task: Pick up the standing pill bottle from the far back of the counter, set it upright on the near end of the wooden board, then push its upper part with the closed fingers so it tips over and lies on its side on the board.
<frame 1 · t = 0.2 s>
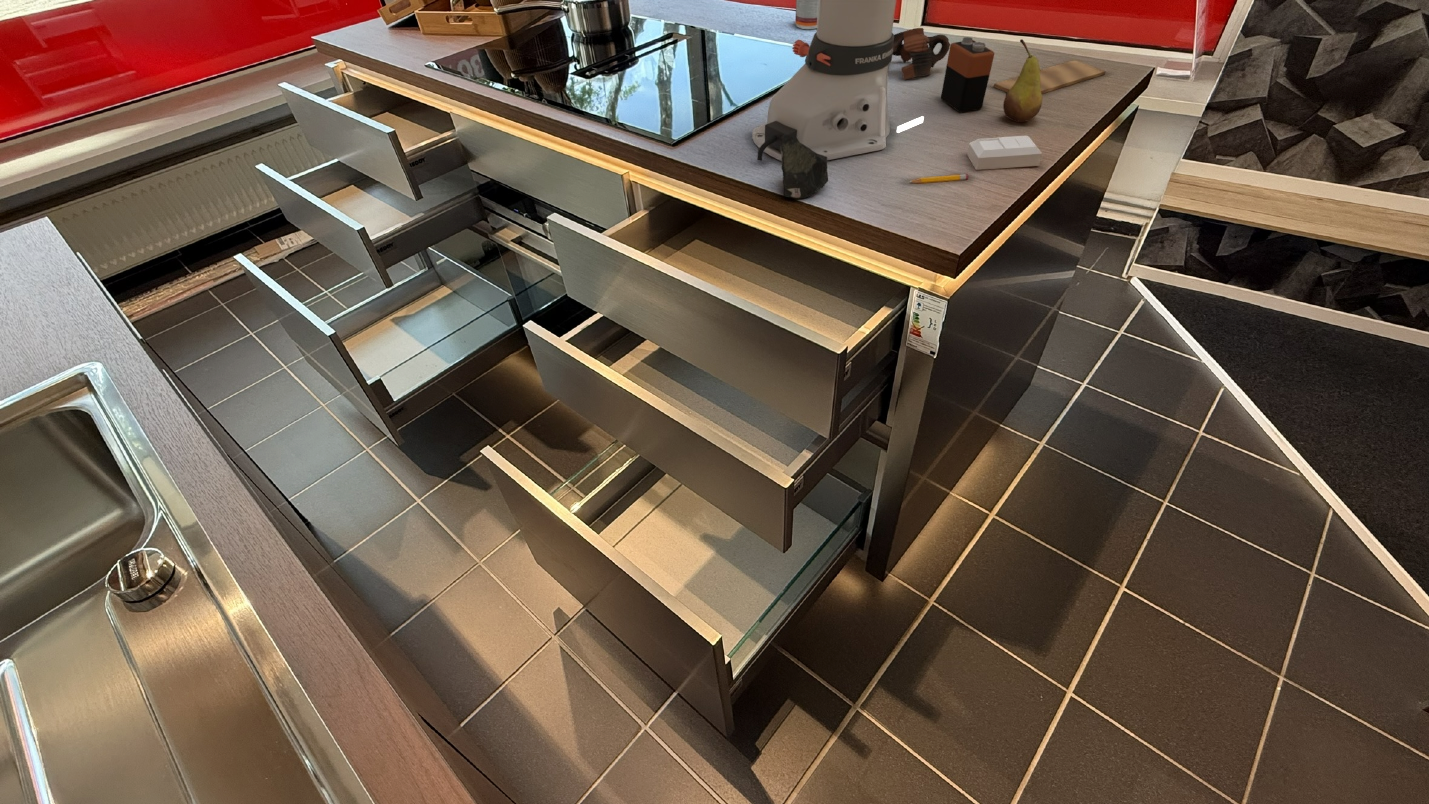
pencil: (938, 182, 97), on the worktop
wooden board: (1049, 80, 122), on the worktop
soap bar: (1001, 161, 101), on the worktop
pottery mug: (912, 71, 128), on the worktop
fruit: (1018, 121, 111), on the worktop
rock: (806, 161, 94), point 4 cm above the worktop
pill bottle: (809, 26, 150), on the worktop
battery: (960, 105, 116), on the worktop
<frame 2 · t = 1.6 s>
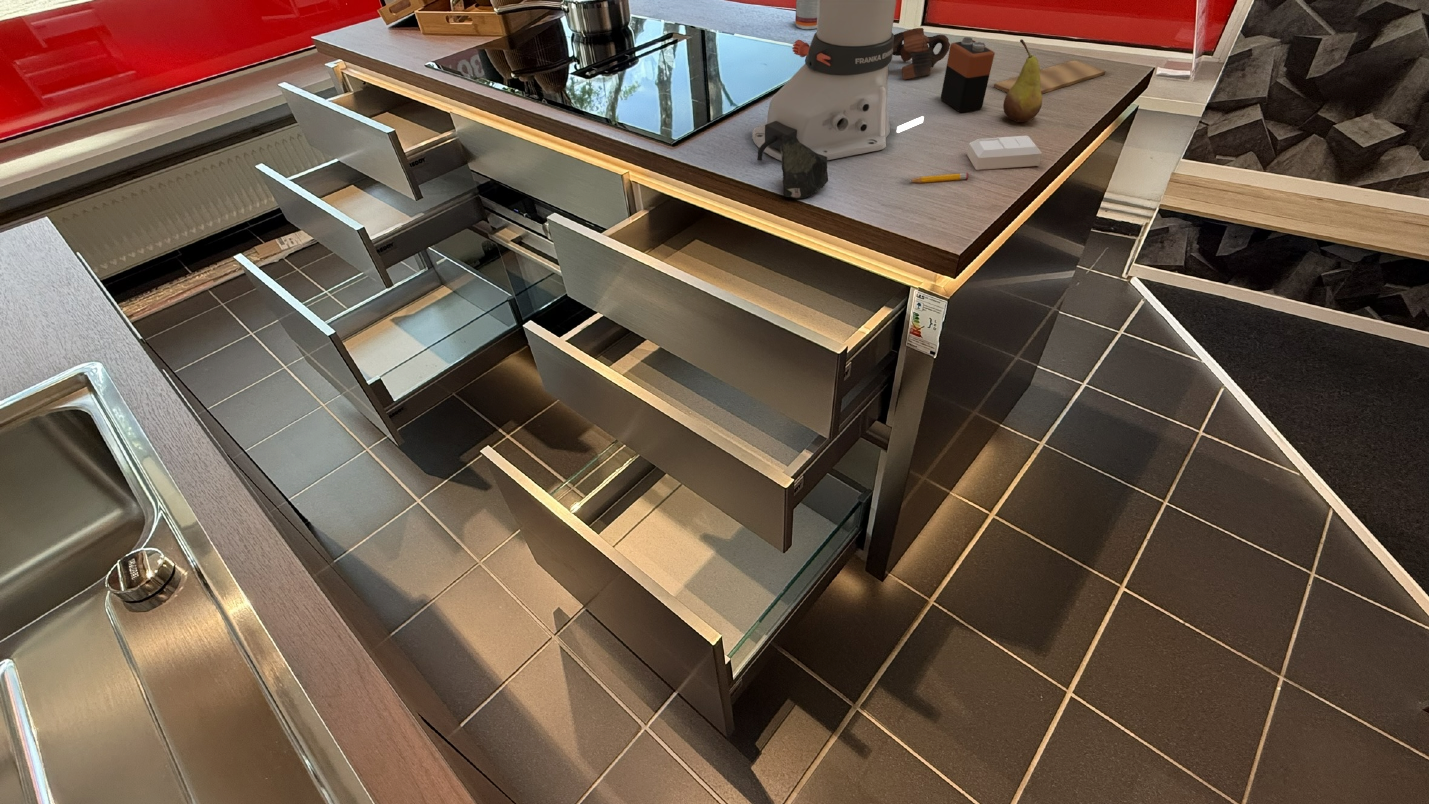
nothing on the worktop moved.
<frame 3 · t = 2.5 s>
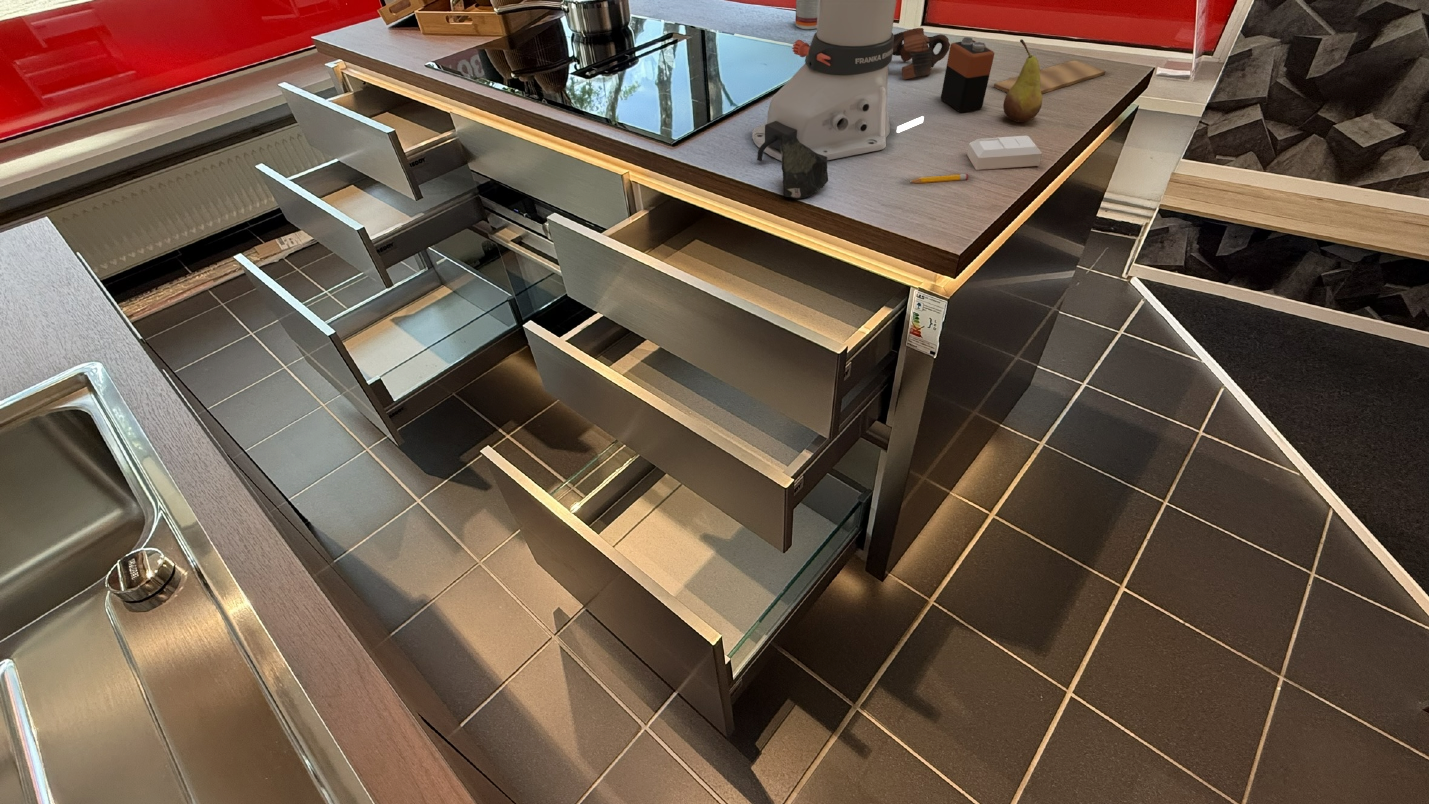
nothing on the worktop moved.
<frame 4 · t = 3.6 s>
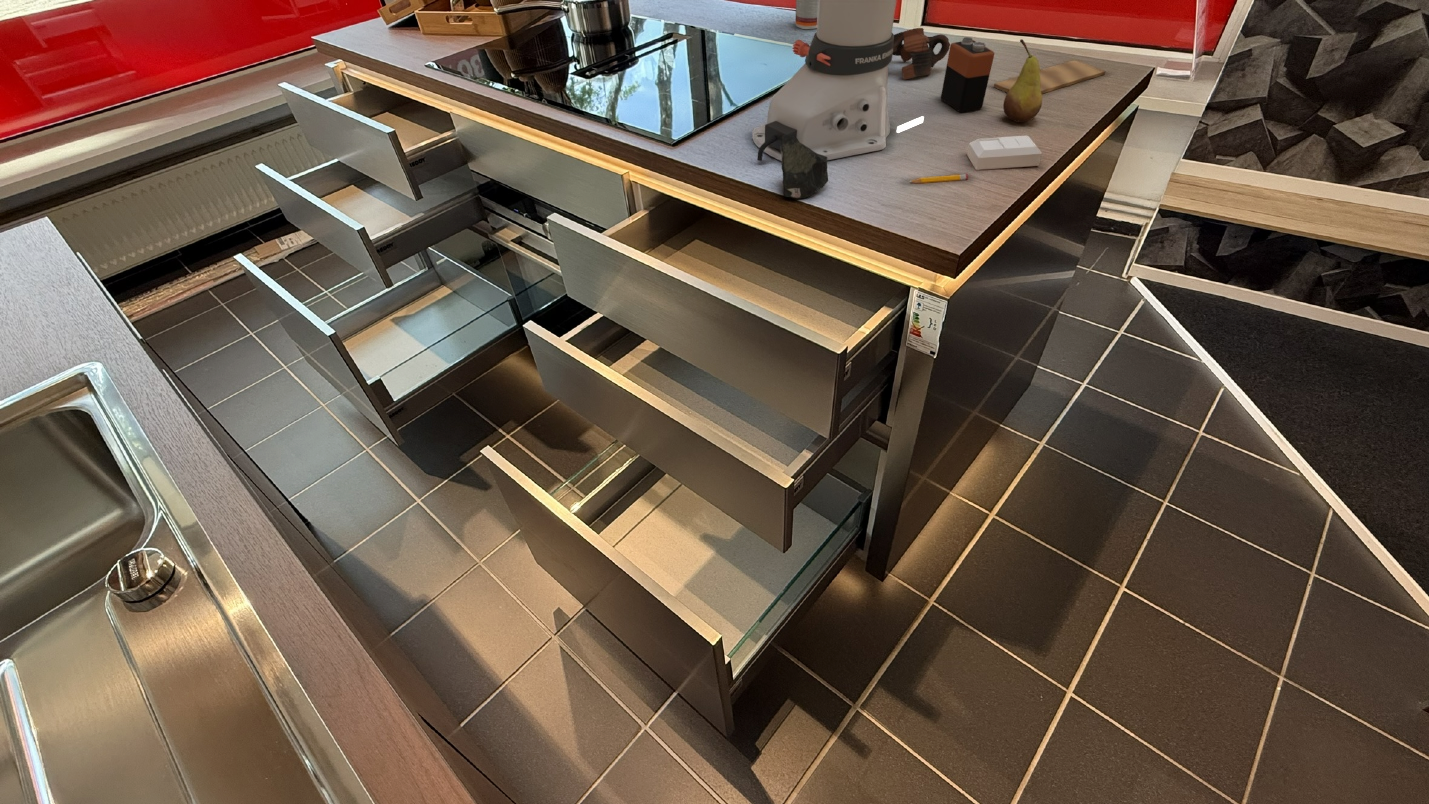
nothing on the worktop moved.
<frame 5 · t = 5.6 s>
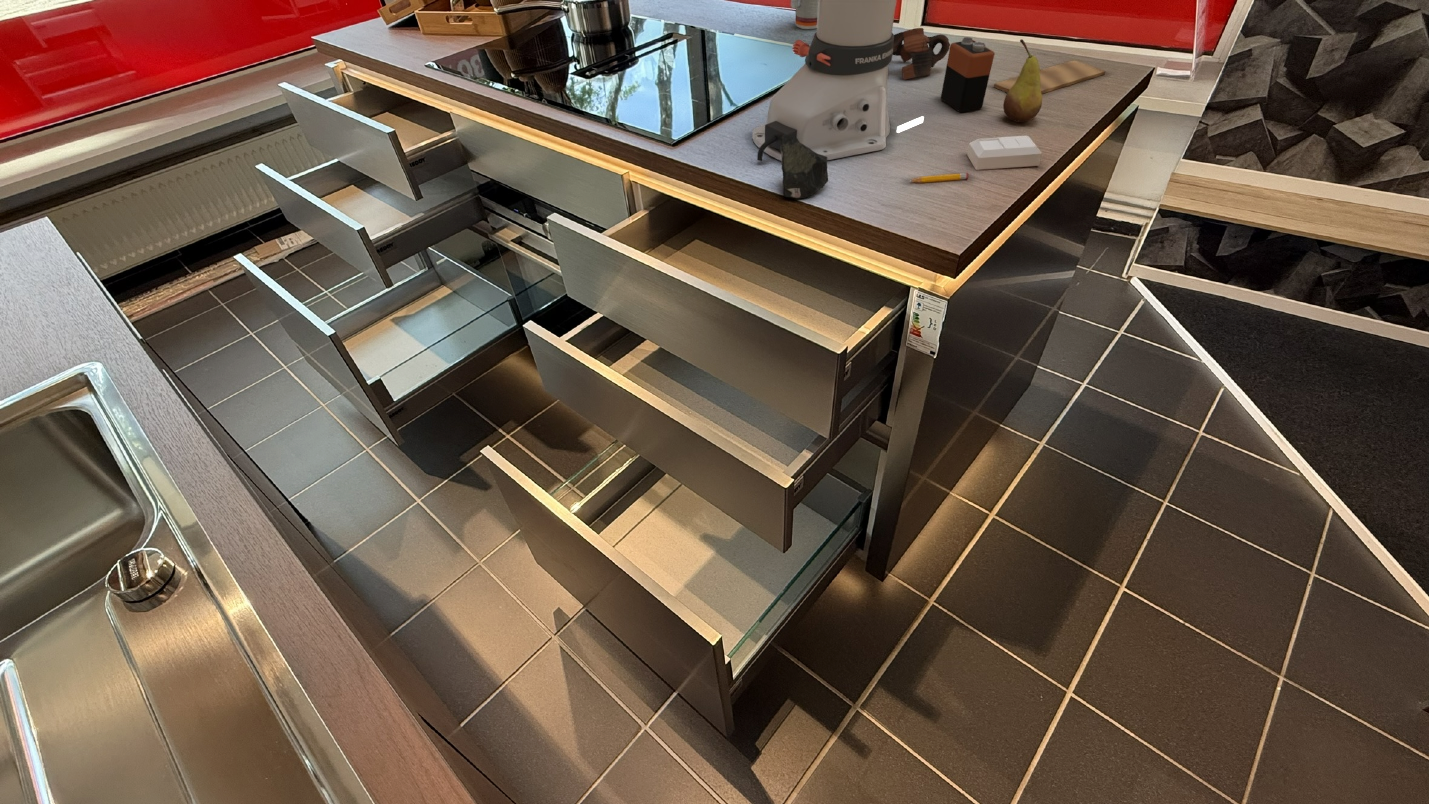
hand: (810, 4, 147), 4 cm above the worktop, tool pointing down, fingers closed on pill bottle, 6 cm apart
pill bottle: (809, 26, 150), on the worktop, touching gripper
everything else where it was.
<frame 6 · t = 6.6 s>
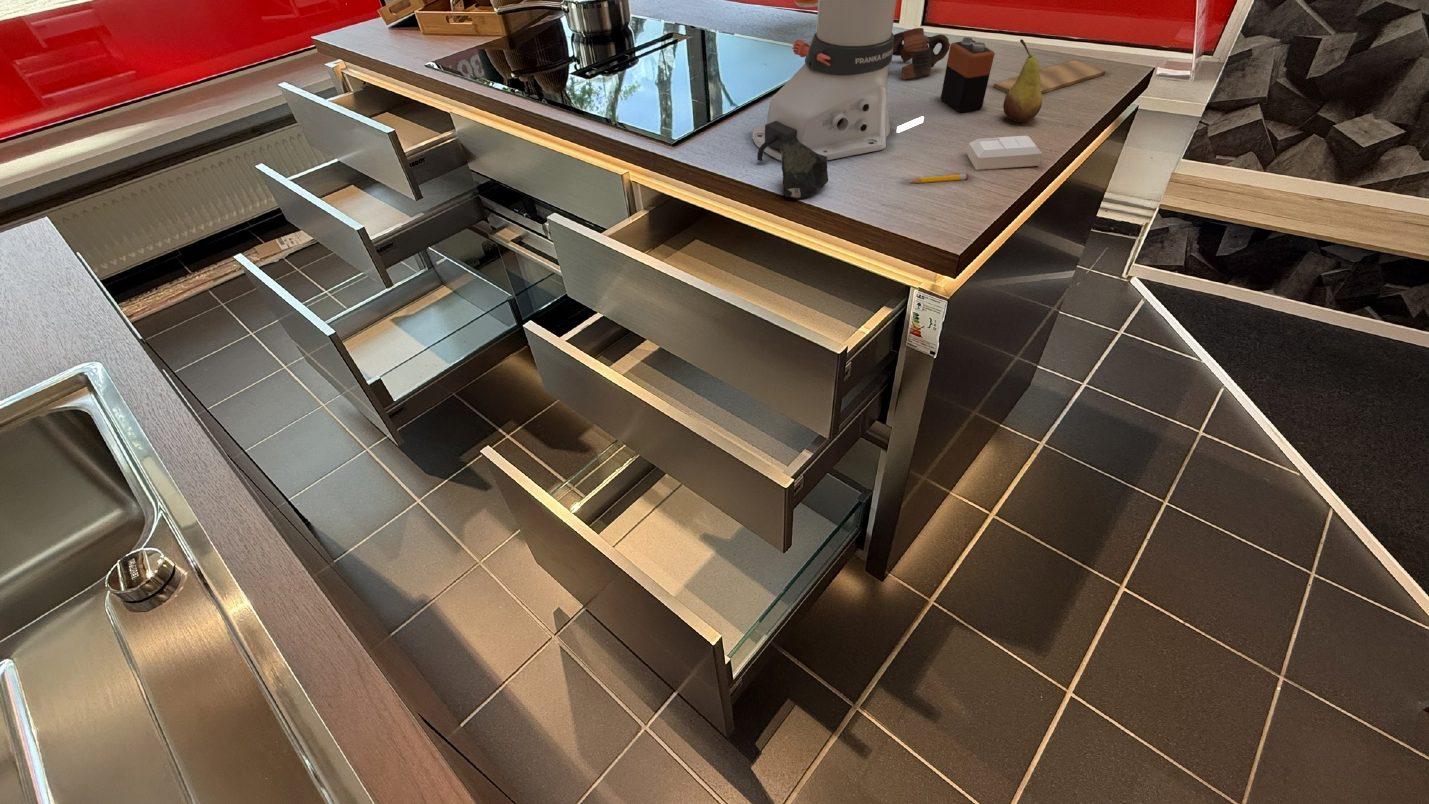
pill bottle: (808, 5, 147), point 4 cm above the worktop, touching gripper
everything else where it was.
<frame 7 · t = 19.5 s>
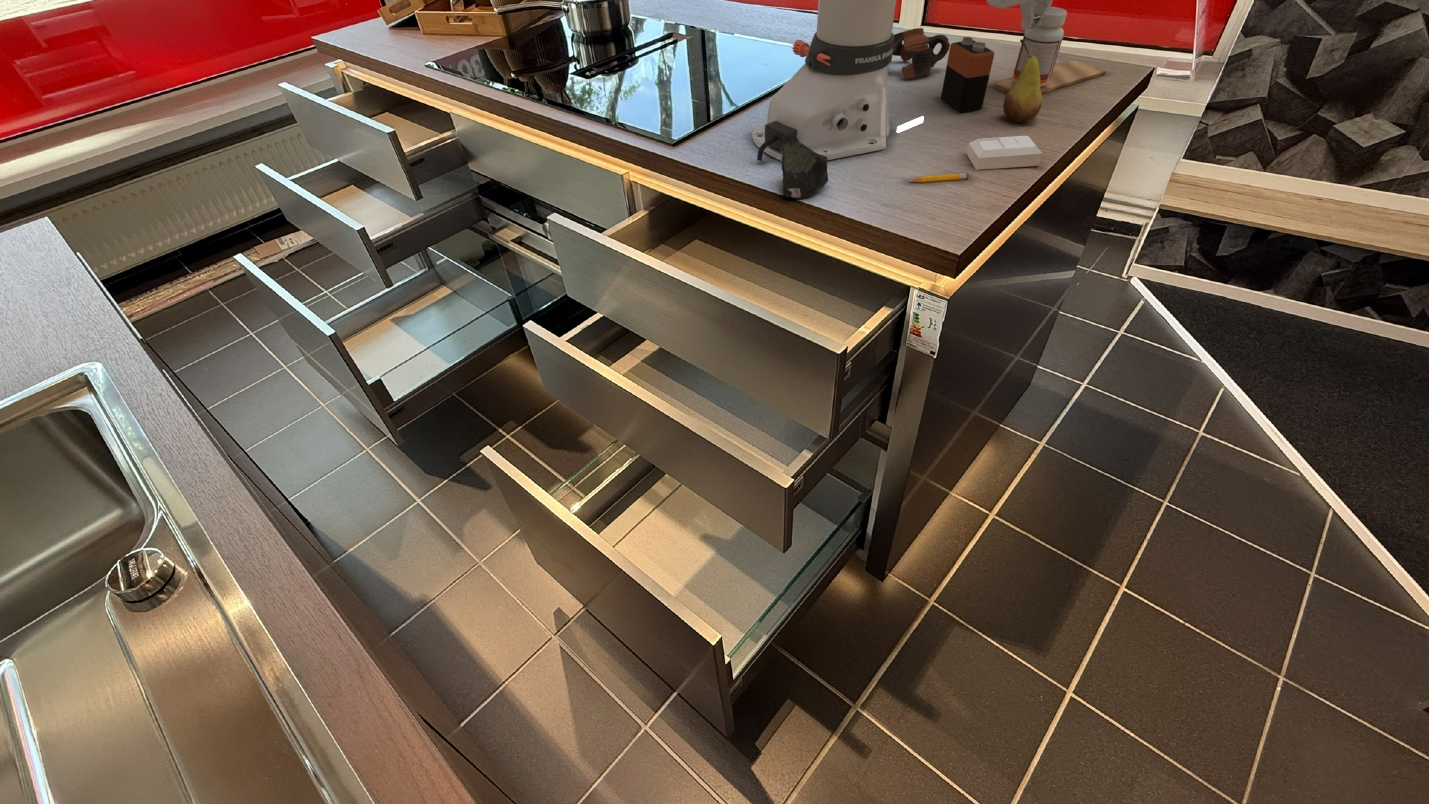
hand: (1030, 27, 112), 10 cm above the worktop, tool pointing down, fingers closed, pressing on pill bottle
pill bottle: (1029, 83, 120), point 1 cm above the worktop, touching wooden board, gripper
everything else where it was.
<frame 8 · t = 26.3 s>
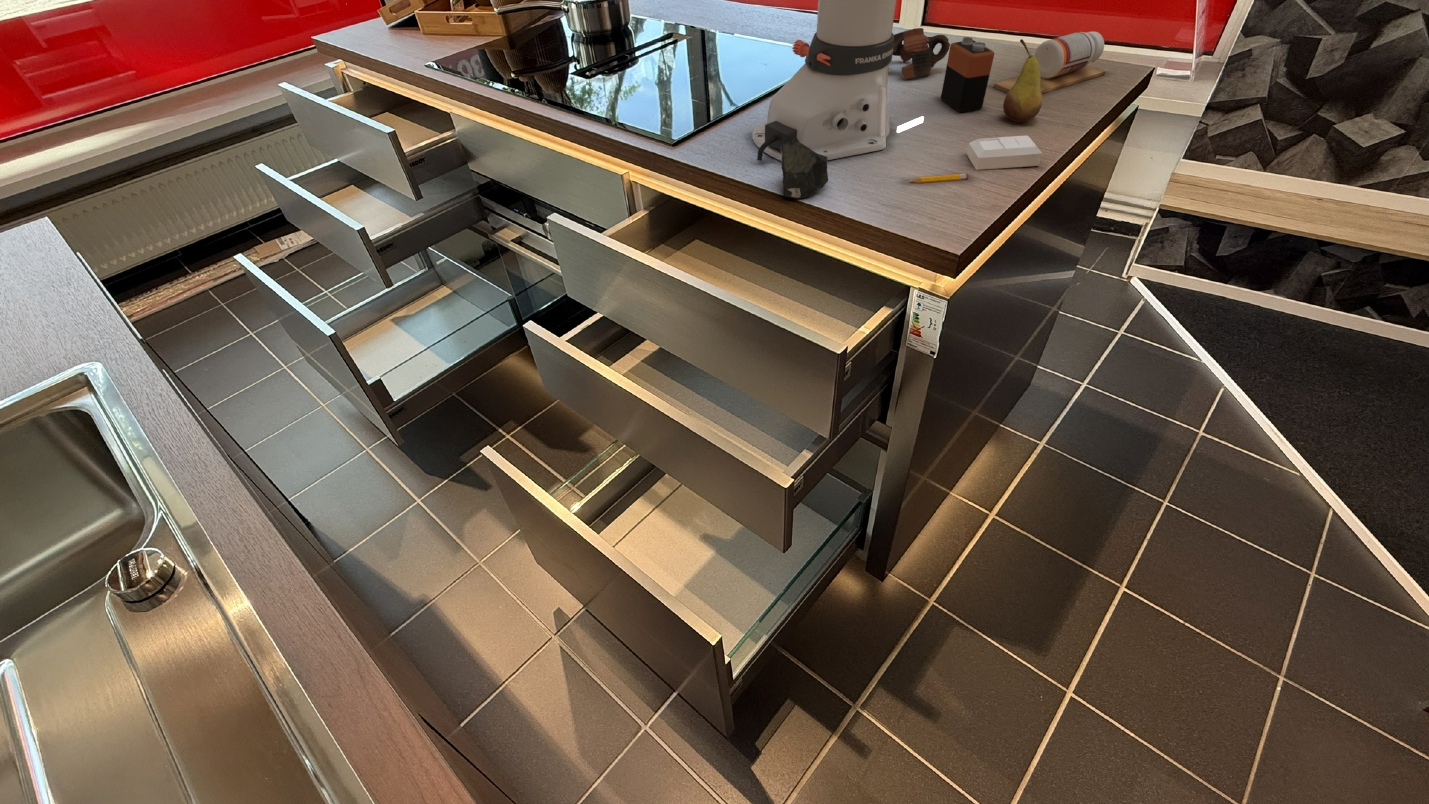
pill bottle: (1045, 60, 119), point 4 cm above the worktop, touching wooden board
everything else where it was.
at the end: pill bottle tilted 90°; pill bottle inside the target area on the wooden board (3.1 cm from its centre), point 3.7 cm above the wooden board's base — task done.
